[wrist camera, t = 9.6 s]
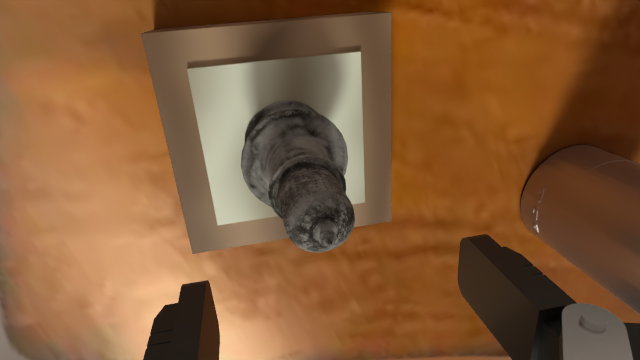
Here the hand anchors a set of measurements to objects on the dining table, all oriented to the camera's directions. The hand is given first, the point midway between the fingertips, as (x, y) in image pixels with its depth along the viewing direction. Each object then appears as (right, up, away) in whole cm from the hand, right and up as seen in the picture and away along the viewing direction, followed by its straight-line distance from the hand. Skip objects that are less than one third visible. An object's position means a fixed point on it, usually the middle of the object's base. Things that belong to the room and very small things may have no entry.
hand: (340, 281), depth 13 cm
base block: (-4, +7, +16) cm, 18 cm away
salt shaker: (-3, +6, +13) cm, 14 cm away
